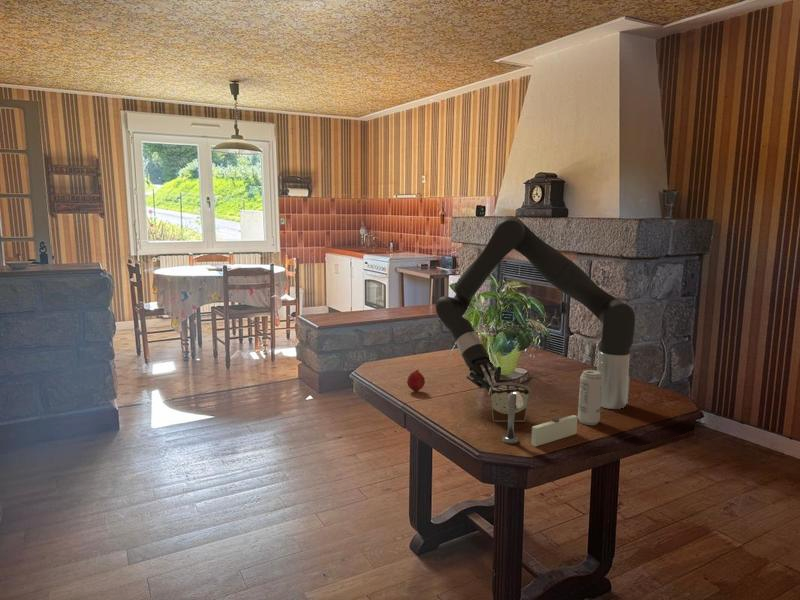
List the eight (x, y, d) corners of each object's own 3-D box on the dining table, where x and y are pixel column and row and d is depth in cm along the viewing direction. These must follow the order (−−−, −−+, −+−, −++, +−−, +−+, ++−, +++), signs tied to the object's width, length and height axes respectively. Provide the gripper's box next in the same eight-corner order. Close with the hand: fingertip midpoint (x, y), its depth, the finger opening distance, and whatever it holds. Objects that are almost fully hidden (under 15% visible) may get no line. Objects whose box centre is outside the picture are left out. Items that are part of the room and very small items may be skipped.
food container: (524, 413, 165) (526, 381, 163) (529, 421, 159) (531, 388, 157) (483, 413, 165) (485, 381, 163) (487, 421, 159) (489, 388, 157)
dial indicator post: (510, 436, 148) (512, 389, 146) (522, 442, 145) (524, 394, 142) (498, 439, 146) (500, 392, 144) (510, 445, 142) (512, 396, 140)
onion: (413, 396, 180) (413, 372, 179) (403, 391, 185) (404, 368, 183) (427, 393, 183) (428, 369, 182) (418, 388, 188) (418, 365, 187)
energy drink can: (601, 426, 156) (605, 375, 153) (579, 425, 156) (583, 374, 154) (596, 418, 162) (600, 369, 159) (575, 417, 162) (578, 368, 160)
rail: (572, 432, 151) (573, 412, 151) (576, 433, 150) (577, 413, 149) (531, 444, 143) (532, 423, 142) (535, 446, 142) (536, 425, 141)
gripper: (461, 345, 167) (486, 395, 159) (493, 340, 174) (519, 388, 166) (450, 358, 172) (474, 407, 164) (482, 353, 179) (507, 399, 171)
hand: (497, 397), depth 165 cm, fingers closed
